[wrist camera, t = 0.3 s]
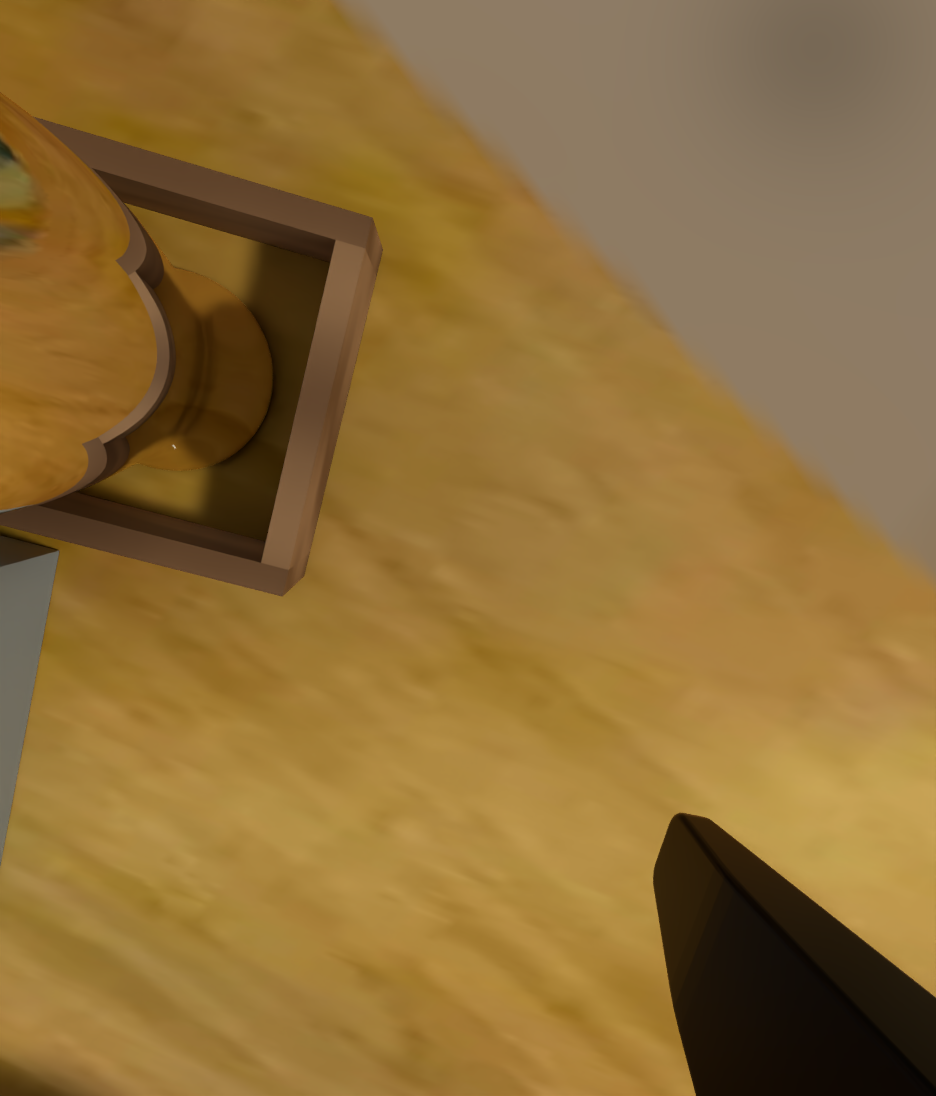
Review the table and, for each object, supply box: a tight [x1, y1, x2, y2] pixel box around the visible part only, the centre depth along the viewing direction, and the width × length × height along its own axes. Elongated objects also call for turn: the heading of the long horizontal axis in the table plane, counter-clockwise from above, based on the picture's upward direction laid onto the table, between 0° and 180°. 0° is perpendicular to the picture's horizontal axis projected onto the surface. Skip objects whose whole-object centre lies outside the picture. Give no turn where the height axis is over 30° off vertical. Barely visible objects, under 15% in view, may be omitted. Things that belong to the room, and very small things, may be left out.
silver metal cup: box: [0, 92, 273, 514], centre depth 14 cm, size 7×7×15 cm
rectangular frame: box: [0, 116, 383, 596], centre depth 20 cm, size 11×11×3 cm
